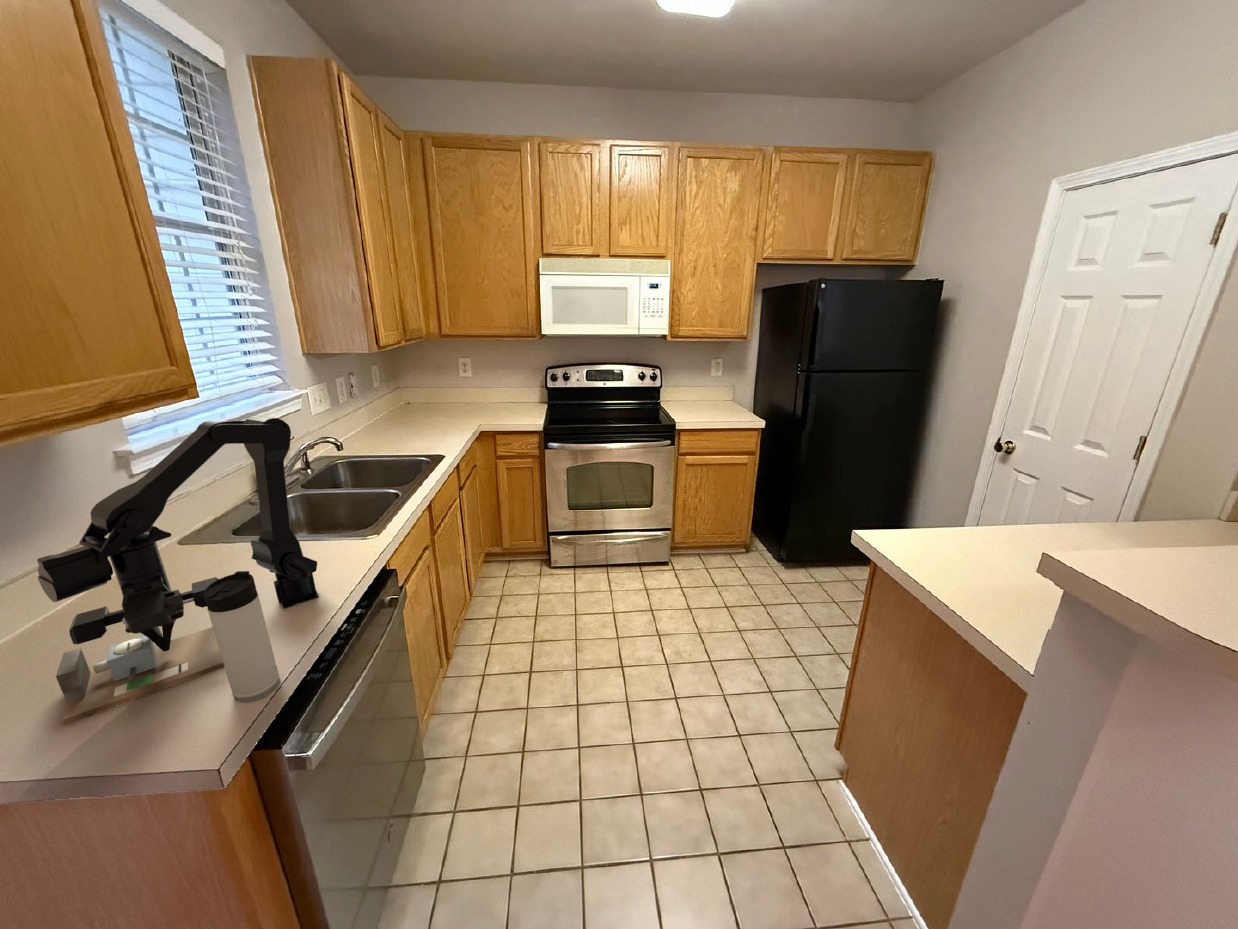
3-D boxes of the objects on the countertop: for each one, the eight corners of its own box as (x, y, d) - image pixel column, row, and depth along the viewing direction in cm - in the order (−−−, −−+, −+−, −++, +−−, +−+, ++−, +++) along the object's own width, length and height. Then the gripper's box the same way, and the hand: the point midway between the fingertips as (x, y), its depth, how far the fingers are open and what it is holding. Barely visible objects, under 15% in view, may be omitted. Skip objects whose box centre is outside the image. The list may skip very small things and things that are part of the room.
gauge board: (237, 623, 97) (230, 597, 96) (244, 660, 87) (236, 631, 85) (77, 675, 84) (65, 645, 82) (64, 725, 74) (50, 692, 72)
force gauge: (156, 652, 87) (149, 631, 86) (154, 679, 81) (146, 657, 80) (100, 671, 83) (92, 649, 82) (94, 700, 76) (85, 677, 75)
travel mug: (289, 673, 84) (264, 569, 78) (264, 703, 78) (234, 592, 72) (252, 674, 84) (223, 570, 78) (224, 704, 77) (190, 593, 71)
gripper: (48, 614, 70) (84, 703, 74) (214, 570, 81) (236, 649, 86) (61, 583, 78) (93, 665, 82) (211, 547, 89) (231, 620, 94)
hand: (166, 649), depth 86 cm, fingers closed
